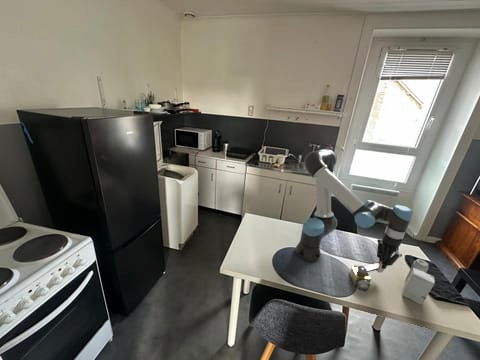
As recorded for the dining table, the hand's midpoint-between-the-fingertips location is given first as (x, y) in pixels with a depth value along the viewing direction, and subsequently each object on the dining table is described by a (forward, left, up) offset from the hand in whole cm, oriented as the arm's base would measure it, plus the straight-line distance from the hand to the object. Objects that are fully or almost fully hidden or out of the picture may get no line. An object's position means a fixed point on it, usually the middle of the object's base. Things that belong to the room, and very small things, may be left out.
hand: (379, 271), depth 110 cm
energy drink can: (+19, +2, -7) cm, 20 cm away
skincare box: (+14, -7, -7) cm, 17 cm away
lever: (-5, 0, 0) cm, 5 cm away
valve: (-10, -2, -6) cm, 12 cm away
